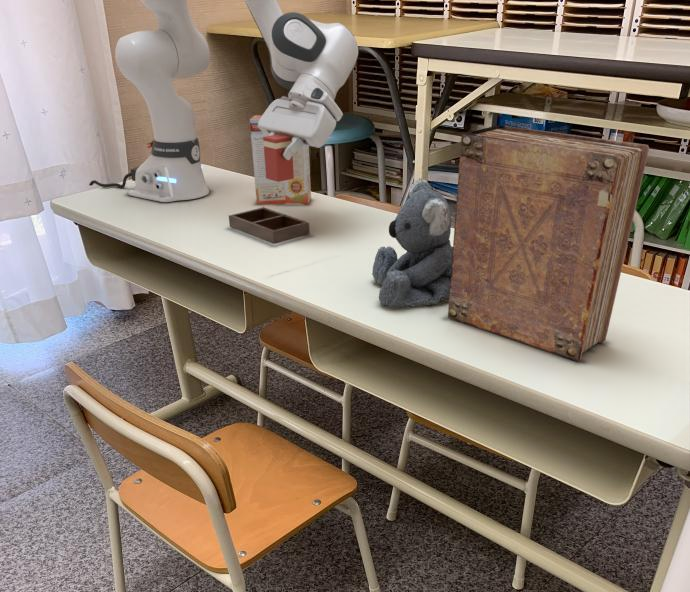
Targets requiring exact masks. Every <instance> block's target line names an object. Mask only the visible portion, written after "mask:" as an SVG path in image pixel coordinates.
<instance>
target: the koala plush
mask: <svg viewBox="0 0 690 592" xmlns="http://www.w3.org/2000/svg"><path fill="white" fill-rule="evenodd" d="M410 184H411V185H410V188H409V190H408V199H406V201H405V202H404V204H403V205H402V206H401V207H400V209H399V211H398V213H397V215H396V217H395V219H393V220H392V221H391V222H389V225H388V234H389V236H390V237H391V238H393V239H395V240H396V241H397V243H398V244H399V246H401V248H402V249H403V250H405V251H406V252H405V253H404V254H402V255H401V256H400V257H399V258H398V253H397V252H396V249H395V248H393V247H391V246H387V247H386V246H381V247H379V248H378V249H377V251H376V254H375V256H374V262H373V265H372V272H371V275H372V278H373V280H374V281H375V282H377V285H380V286H381V288H380V289H379V293H378V301H379V302H380V305H382V306H384V307H389V308H399V309H400V308H411V307H416V306H435V305H436V304H438V303H439V302H440V301H446V300H449V295H450V281H451V268H452V255H453V245H451V240H450V237H451V232H452V214H451V207H450V204H449V203H448V201H447V199H445V197H444V195H442V194H441V193H439V192H438V191H436V190H433V188H432V186H431V185H430V183H429V182H428V181H427V180H425V179H423V177H421V178H418V180H414V181H413V183H410Z"/></svg>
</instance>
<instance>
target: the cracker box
mask: <svg viewBox="0 0 690 592" xmlns="http://www.w3.org/2000/svg"><path fill="white" fill-rule="evenodd" d="M262 115H263V114H255V115H253V116H252V117H250V118H249V127H250V141H251V151H252V152H251V153H252V164H253V174H254V187H255V188H254V189H255V198H256V205H286V204H301V205H309V204H310V202H311V200H312V188H311V186H312V185H311V163H310V162H311V161H310V146H308V145H304V144H303V146H302V147H301V149H299V150H298V151H297V152H295V153H294V154H293V172H294V179H290V180H285V181H280V182H276V181H273V180H269V179H266V170H265V156H264V146H263V137H265V136H266V135H265V134H264V133H263V132H262V131H261V130H260V129H259V128H258V122H259V120H260V118H261V117H262Z"/></svg>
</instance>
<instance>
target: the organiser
mask: <svg viewBox="0 0 690 592" xmlns="http://www.w3.org/2000/svg"><path fill="white" fill-rule="evenodd" d="M228 222H229V223H228V224H229V227H230V228H232V229H234V230H237V231H240V232H243V233H245V234H248V235H250V236H253V237H255V238H258V239H260V240H263V241H266V242H268V243H271V244H273V245H275V244H279V243H282V242H286V241H290V240H293V239H297V238H300V237H305V236H308V235H310V222H308V221H306V220H302V219H300V218H297V217H294V216H291V215H288V214H285V213H282V212H279V211H276V210H273V209H270V208H267V207H264V206H263V207H258V208H253V209H250V210H245V211H241V212H237V213H233V214H229V215H228Z"/></svg>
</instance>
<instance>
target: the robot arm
mask: <svg viewBox="0 0 690 592" xmlns="http://www.w3.org/2000/svg"><path fill="white" fill-rule="evenodd" d="M140 2H141V3H142V4H143V5H144V6H145V8H147V9H148V10H149V11H151V12H152V13H153V14H154V16H155V19H156V22H157V29H153V30H151V29H150V30H140V31H139V30H138V31H133V32H131V33H129V34H126V35H124V36H121V37H120V38H119V39H118V40H117V43H116V45H115V51H114V57H115V62H116V65H117V68H118V69H119V71H120V73H121V75H123V77H124V78H125V79H126V80H128V81H129V82H130V83H132V85H134V86H135V87H136V88H137V90H138V91H139V92H140V94H141V96H142V98H143V99H144V101H145V103H146V105H147V110H148V113H149V116H150V117H149V118H150V121H151V127H152V132H153V138H154V139H153V140H152V141H151V142H147V143H146V145H148V146H147V147H146V148H147V149H150V148H151V151H150V155H149V156H148V157H147V158H146V159H145V161H144V162H142V164H140V165H139V166H136V167H134V168H131V169H130V172H129V173H126V175H124V176H123V179H122V184H120V183H116V182H113V183H101V182H99V181H98V180H95V179H94V180H91V181H90V182H89V184H88V186H90V187H91V186H93V185H94V184H95V185H97V186H99V187H101V188H113V187H118V188H120V189H123V188H125V186H126V184H127V179H129V178H130V177H131V181H132V182H135V183H134V184H135V186H133V187H131V188H130V189H129V190H128V196H131V197H136V198H140V199H146V200H149V201H155V202H159V203H171V202H176V201H188V200H194V199H199V198H204V197H206V196H207V195H209V193H210V190H209V188H208V185H207V181H206V179H205V175H204V172H203V165H202V163H201V149H200V147H201V146H200V141H199V137H197V129H196V122H195V121H196V120H195V114H194V108H193V106H192V104H191V103H190V102H189V101H188V100H187V99H186V98H184V97H182V96H180V95H179V94H178V92H177V90H176V89H175V85H174V82H173V80H180V79H187V78H193V77H195V76H197V75H199V74H201V73H204V72H205V71H206V70H207V69H208V67H209V64H210V58H211V51H210V48H209V47H210V46H209V44H208V41H207V40H206V38H205V37H204V35H203V34H202V33H201V32H200V31H199V30H198V29H197V28H196V26H195V24H194V22H193V20H192V17H191V13H190V11H189V5H188V0H140ZM244 2H245V4H246V6H247V9H248V11H249V12H250V14H251V16H252V18H253V21H254V23H255V25H256V26H257V29H258V30H259V33H260V35H261V37H262V39H263V42H264V43H265V45H266V48H267V51H268V54H269V62H270V71H271V74H272V77H273V79H274V80H275V82H276V83H277V84H278V85H279V86H281V87H283V88H284V89H287V90H289V92H288V93H287V95H282V96H281V97H280V98H277V99H275V100H273V101H272V102H270V104H269V105H268V106H267V108H266V109H265V111H264V112H263V113H262V114H261V115H262V117H261V118H260V120H259V122H258V128H259V129H260V130H261V131H262V132H263V133H264V134H265V135H266V136H271V135H277V134H281V135H286V136H290V137H292V140H291V141H292V143H291V144H290V145H289V146H288V147H287V148H284V149H283V150H282V152H281V156H282V157H283V158H284V159H286V160H290V158H291V157H292V155H293V154H294V153H295V152H297V151H298V150H299V149H301V147H302V146H303V144H304V145H308V146H309V147H313V148H318V149H320V148H321V147H323V146H325V144H326V143H327V142H328V140H329V139H330V137H331V136H332V134H333V132H334V131H335V129H336V126H337V122H339V121H340V120H342V118H343V116H344V113H343V111H342V110H341V108H340V107H339V106H338V104H337V103H336V102H335V100H336V96H337V93H338V91H339V90H340V89H341V88H342V87H343V86H344V85H345V84H346V82H347V80H348V78H349V76H350V74H351V73H352V70H353V69H354V67H355V65H356V62H357V60H358V57H359V45H358V42H357V40H356V37H355V35H354V34H353V32H352V31H351V30H350V29H349V28H348V27H347V26H345V25H344V24H342V23H340V22H332V23H324V22H319V21H317V20H313V19H311V18H308V17H307V16H306V15H304V14H302V13H300V12H296V11H295V12H294V11H291V12H285V13H283V11H282V8H281V6H280V5H279V2H278V0H244Z"/></svg>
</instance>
